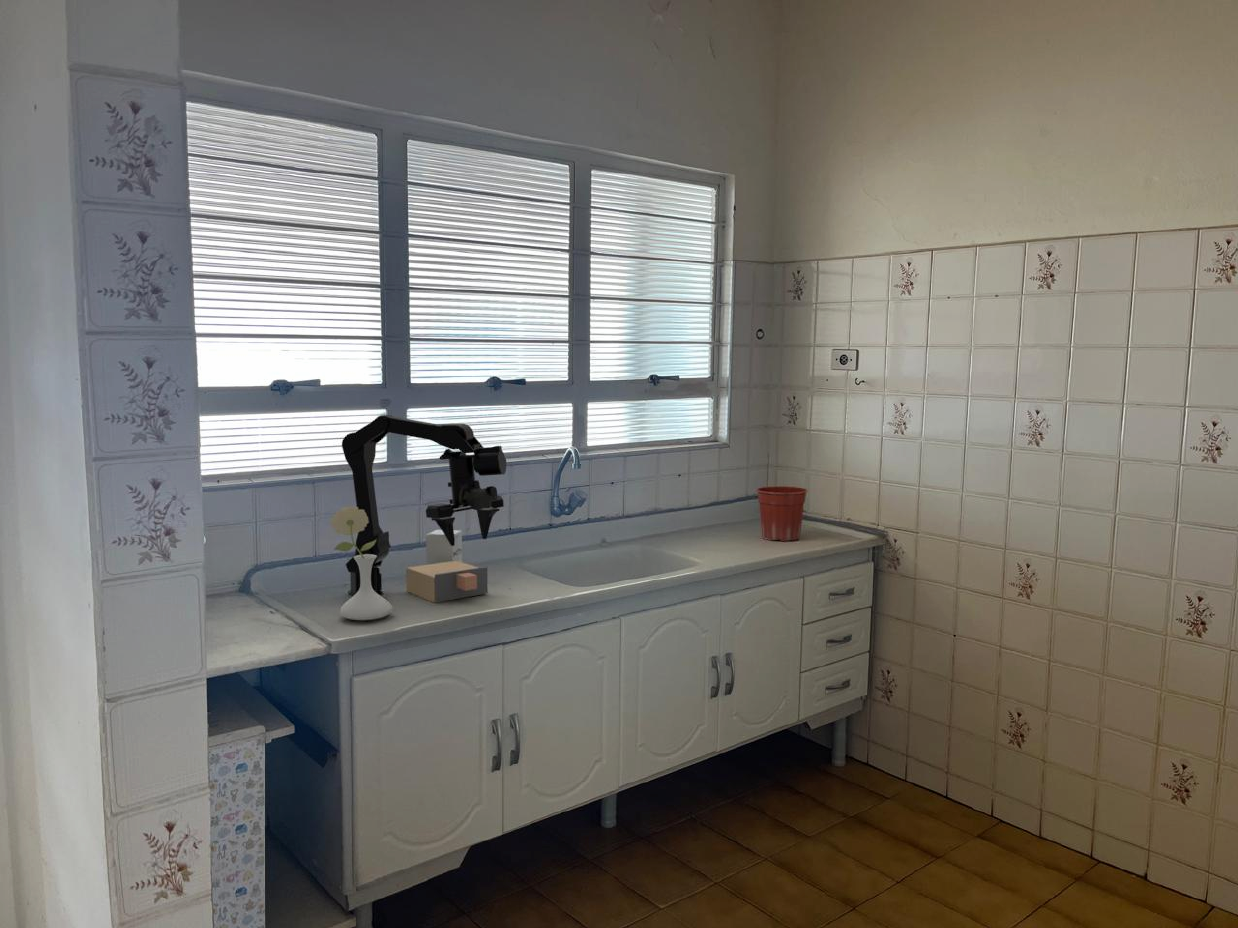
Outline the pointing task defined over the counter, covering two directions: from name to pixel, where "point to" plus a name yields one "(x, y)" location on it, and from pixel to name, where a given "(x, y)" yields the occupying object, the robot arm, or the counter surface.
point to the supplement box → (443, 547)
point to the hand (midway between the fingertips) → (468, 542)
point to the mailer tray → (450, 584)
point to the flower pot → (781, 511)
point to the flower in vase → (360, 568)
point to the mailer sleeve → (431, 577)
